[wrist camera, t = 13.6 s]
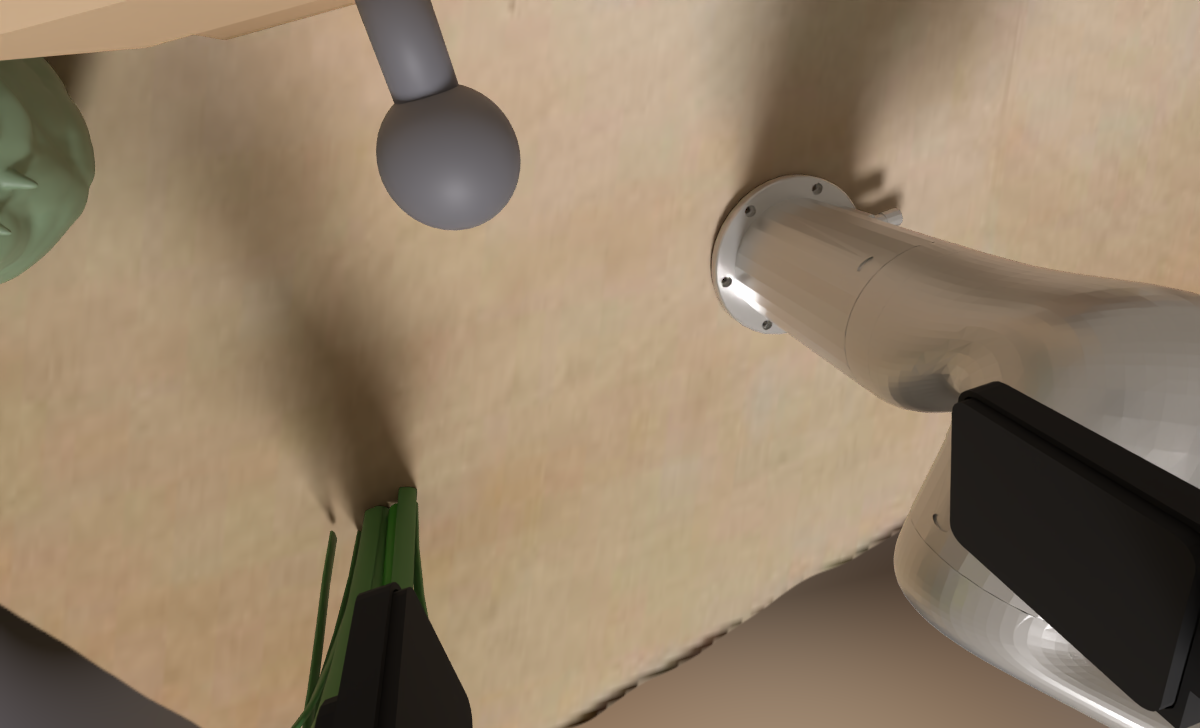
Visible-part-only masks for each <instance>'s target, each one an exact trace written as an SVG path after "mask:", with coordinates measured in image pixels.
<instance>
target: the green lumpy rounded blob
mask: <svg viewBox="0 0 1200 728" xmlns="http://www.w3.org/2000/svg"><path fill="white" fill-rule="evenodd" d="M94 174H95V159H94V151H93V146H92V143H91V139H90V134H89V131H88V128H87V125H86V123H85V120H84V118H83V116H82V114H81V113H80V111H79V110H78V108H77V107H76V105H75V104H74V102H73V101H72V100H71V99H70V97H69V96H68V94H67V90H66V88H65V86H64V84H63V82H62V81H61V79H60V78H59V76H58V75H57V73H56V72H55V71H54V70H53V68H52V67H51V66H50V65H49V63H48V62H47V61H46V60H45V59H44V58H43V57H35V58H24V59H12V60H1V61H0V284H1V283H4V282H7V281H9V280H11V279H13V278H15V277H17V276H18V275H20V274H22V273H23V272H24V271H26V270H27V269H28V268H30V267H31V266H32V265H34V264H35V263H36V262H38V261H39V260H40V259H41V258H42V257H43V256H44V255H46V254H47V253H48V252H49V251H50V250H51V249H52V248H53V246H54V245H55V244H56V243H57V242H58V241H59V240H60V239H61V237H62V236H63V235H64V234H65V232H66V231H67V230H68V229H69V227H70V226H71V225H72V224H73V223H74V222H75V221H76V220H77V219H78V217H79V216H80V215H81V214H82V212H83V210H84V208H85V205H86V202H87V199H88V192H89V187H90V185H91V183H92V181H93V178H94Z"/></svg>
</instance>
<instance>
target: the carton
mask: <svg viewBox="0 0 1200 728" xmlns="http://www.w3.org/2000/svg"><path fill="white" fill-rule="evenodd" d="M353 4H356V3H355V0H317V1H314V2H310V3H306V4H303V5H299V6H296V7H292V8H288V9H285V10H281V11H278V12H274V13H270V14H267V15H263V16H260V17H256V18H252V19H249V20H245V21H241V22H238V23H234V24H231V25H227V26H223V27H220V28H216V29H213V30H209V31H205V32H202V33H198V34H195V35H200V36H205V37H211V38H216V39H222V40H228V39H231V38H235V37H238V36H242V35H246V34H249V33H253V32H256V31H260V30H263V29H267V28H271V27H274V26H278V25H281V24H285V23H289V22H292V21H296V20H299V19H303V18H306V17H310V16H314V15H317V14H321V13H324V12H328V11H331V10H335V9H339V8H342V7H346V6H349V5H353Z"/></svg>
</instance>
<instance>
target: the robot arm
mask: <svg viewBox="0 0 1200 728" xmlns="http://www.w3.org/2000/svg"><path fill="white" fill-rule="evenodd" d="M812 187H813V189H812ZM747 207H748V210H747V211H746V212H745V209H746V208H747ZM902 219H903V218H902V213H901V212H900V210H899V209H897V208H893V209H890V210H887V211H884V212H881V213H879V214H878V215H875V216H874V215H873V214H870V213H866V212H863V211H860V210H857V209H856V207H855V205H854V203H853V202H852V201H851V199H850V198H849V197H848V195H847V194H846V193H845V192H844V191H843V190H841V189H840V188H839V187H838V186H837V185H835V184H833V183H831V182H829V181H827V180H825V179H822V178H818V177H814V176H810V175H800V174H796V175H787V176H781V177H778V178H775V179H772V180H769V181H767V182H765V183H764V184H762V185H760V186H758V187H756V188H755V189H753V190H752V191H751V192H750V193H748V194H747V195H746V196H745V197H743V198H742V199H741V200H740V201H739V203H738V204H737V205H736V206H735V207H734V208H733V209H732V211H731V212H730V213H729V215H728V217H727V218H726V220H725V221H724V223H723V225H722V226H721V229H720V231H719V234H718V236H717V238H716V241H715V245H714V250H713V254H712V267H711V272H712V280H713V286H714V289H715V292H716V295H717V297H718V299H719V301H720V303H721V304H722V306H723V308H724V309H725V310H726V311H727V312H728V313H729V314H730V315H731V316H732V317H733V318H734V319H735V320H736V321H738V322H739V323H740V324H742V325H743V326H745V327H747V328H749V329H751V330H753V331H756V332H760V333H764V334H784V333H788V334H789V335H791V336H792V337H794V338H795V339H796V340H798V341H799V342H801V343H802V344H803V345H805V346H806V347H808V348H809V349H810V350H812V351H813V352H815V353H816V354H817V355H819V356H820V357H822V358H823V359H824V360H826V361H827V362H829V363H830V364H831V365H833V366H834V367H836V368H837V369H838V370H840V371H841V372H843V373H844V374H845V375H847V376H848V377H850V378H851V379H852V380H854V381H855V382H857V383H858V384H859V385H861V386H862V387H864V388H865V389H867V390H868V391H870V392H871V393H873V394H874V395H875V396H877V397H878V398H880V399H882V400H883V401H885V402H887V403H889V404H891V405H894V406H897V407H899V408H902V409H906V410H912V411H917V412H925V413H943V412H952V423H951V425H950V427H949V429H948V431H947V434H946V439H945V441H944V443H943V445H942V447H941V449H940V451H939V453H938V455H937V457H936V459H935V461H934V463H933V465H932V467H931V469H930V471H929V473H928V475H927V477H926V479H925V481H924V483H923V485H922V487H921V489H920V491H919V493H918V495H917V497H916V499H915V501H914V503H913V505H912V507H911V510H910V512H909V514H908V516H907V518H906V520H905V522H904V525H903V527H902V529H901V532H900V534H899V537H898V539H897V543H896V547H895V553H894V570H895V574H896V578H897V581H898V584H899V585H900V587H901V589H902V591H903V593H904V595H905V596H906V598H907V599H908V600H909V602H910V603H911V604H912V605H913V607H914V608H915V609H916V610H917V611H918V612H919V613H920V614H921V615H922V616H923V617H924V618H925V619H926V620H927V621H928V622H929V623H930V624H931V625H933V626H934V627H935V628H936V629H938V630H939V631H940V632H941V633H943V634H944V635H945V636H947V637H948V638H950V639H951V640H953V641H954V642H955V643H957V644H958V645H960V646H961V647H963V648H964V649H966V650H967V651H969V652H971V653H972V654H974V655H976V656H977V657H979V658H981V659H982V660H984V661H986V662H988V663H989V664H991V665H993V666H995V667H996V668H998V669H1001V670H1002V671H1004V672H1006V673H1008V674H1009V675H1011V676H1013V677H1015V678H1017V679H1019V680H1021V681H1022V682H1024V683H1026V684H1028V685H1030V686H1032V687H1034V688H1036V689H1037V690H1039V691H1041V692H1043V693H1045V694H1047V695H1049V696H1051V697H1053V698H1055V699H1057V700H1059V701H1061V702H1062V703H1064V704H1066V705H1068V706H1070V707H1072V708H1074V709H1076V710H1078V711H1079V712H1082V713H1083V714H1085V715H1087V716H1089V717H1091V718H1093V719H1095V720H1097V721H1098V722H1100V723H1102V724H1104V725H1106V726H1108V727H1110V728H1200V295H1199V294H1196V293H1193V292H1189V291H1184V290H1179V289H1175V288H1170V287H1165V286H1160V285H1155V284H1150V283H1142V282H1135V281H1127V280H1120V279H1113V278H1105V277H1098V276H1090V275H1083V274H1077V273H1070V272H1064V271H1059V270H1053V269H1048V268H1043V267H1037V266H1032V265H1028V264H1025V263H1021V262H1017V261H1013V260H1010V259H1006V258H1002V257H999V256H995V255H991V254H987V253H984V252H981V251H977V250H974V249H971V248H968V247H965V246H961V245H958V244H955V243H950V242H947V241H944V240H941V239H937V238H934V237H931V236H928V235H925V234H922V233H919V232H915V231H912V230H909V229H906V228H903V227H900V226H898V225H900V224H901V223H902ZM724 277H725V278H724ZM723 278H724V280H723V281H722V279H723ZM763 322H764V323H763ZM315 728H472V714H471V708H470V704H469V700H468V697H467V695H466V693H465V691H464V689H463V687H462V685H461V683H460V681H459V679H458V677H457V675H456V673H455V671H454V669H453V667H452V665H451V663H450V661H449V659H448V657H447V655H446V653H445V651H444V649H443V647H442V645H441V643H440V641H439V639H438V637H437V635H436V633H435V631H434V629H433V627H432V625H431V623H430V621H429V619H428V617H427V615H426V613H425V611H424V609H423V607H422V605H421V603H420V601H419V599H418V597H417V595H416V593H415V591H414V590H413V588H412V587H407V588H404V589H401V587H400V586H399V584H397V583H396V582H392V583H389V584H386V585H383V586H380V587H377V588H374V589H371V590H368V591H365V592H362V593H359V594H358V596H357V597H356V601H355V605H354V611H353V616H352V621H351V627H350V632H349V638H348V643H347V649H346V654H345V660H344V665H343V670H342V676H341V681H340V687H339V692H338V695H337V696H334V697H331V698H329V699H326V700H325V701H324V702H323V703H322V705H321V706H320V709H319V712H318V715H317V718H316V723H315Z"/></svg>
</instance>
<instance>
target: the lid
mask: <svg viewBox="0 0 1200 728" xmlns="http://www.w3.org/2000/svg"><path fill="white" fill-rule="evenodd" d="M314 1H317V0H0V61H1V60H12V59H24V58H35V57H46V56H58V55H69V54H80V53H91V52H103V51H114V50H125V49H137V48H148V47H151V46H155V45H158V44H162V43H166V42H169V41H173V40H176V39H180V38H184V37H187V36H191V35H195V34H198V33H202V32H205V31H209V30H213V29H216V28H220V27H223V26H227V25H231V24H234V23H238V22H241V21H245V20H249V19H252V18H256V17H260V16H263V15H267V14H270V13H274V12H278V11H281V10H285V9H288V8H292V7H296V6H299V5H303V4H306V3H310V2H314ZM355 3H356V5H357V8H358V10H359V13H360V16H361V18H362V21H363V23H364V26H365V29H366V31H367V34H368V36H369V39H370V41H371V44H372V47H373V49H374V52H375V54H376V57H377V59H378V62H379V65H380V67H381V70H382V72H383V75H384V77H385V80H386V83H387V85H388V88H389V90H390V93H391V96H392V98H393V101H394V103H395V104H394V105H393V106H392V107H391V108H390V110H389V111H388V113H387V114H386V116H385V118H384V120H383V122H382V124H381V127H380V129H379V133H378V138H377V146H376V156H377V165H378V169H379V173H380V176H381V179H382V182H383V184H384V186H385V188H386V190H387V192H388V193H389V195H390V196H391V198H392V199H393V200H394V201H395V202H396V204H397V205H398V206H399V207H400V208H401V209H402V210H403V211H404V212H406V213H407V214H408V215H409V216H411V217H412V218H414V219H415V220H417V221H419V222H421V223H423V224H425V225H428V226H431V227H434V228H438V229H443V230H463V229H469V228H473V227H476V226H479V225H481V224H483V223H485V222H487V221H489V220H490V219H492V218H493V217H494V216H495V215H497V214H498V213H499V212H500V211H501V210H502V209H503V208H504V207H505V205H506V204H507V203H508V201H509V200H510V198H511V197H512V195H513V192H514V190H515V188H516V185H517V182H518V178H519V172H520V150H519V145H518V141H517V138H516V135H515V132H514V130H513V128H512V126H511V124H510V122H509V120H508V119H507V117H506V116H505V115H504V113H503V112H502V111H501V110H500V109H499V107H498V106H497V105H496V104H495V103H493V102H492V101H491V100H490V99H489V98H487V97H486V96H484V95H483V94H481V93H480V92H478V91H476V90H474V89H472V88H469V87H466V86H463V85H459V84H458V81H457V78H456V75H455V72H454V69H453V66H452V63H451V60H450V57H449V54H448V51H447V48H446V45H445V42H444V39H443V36H442V33H441V30H440V27H439V24H438V21H437V18H436V15H435V12H434V9H433V6H432V3H431V0H355Z"/></svg>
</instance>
